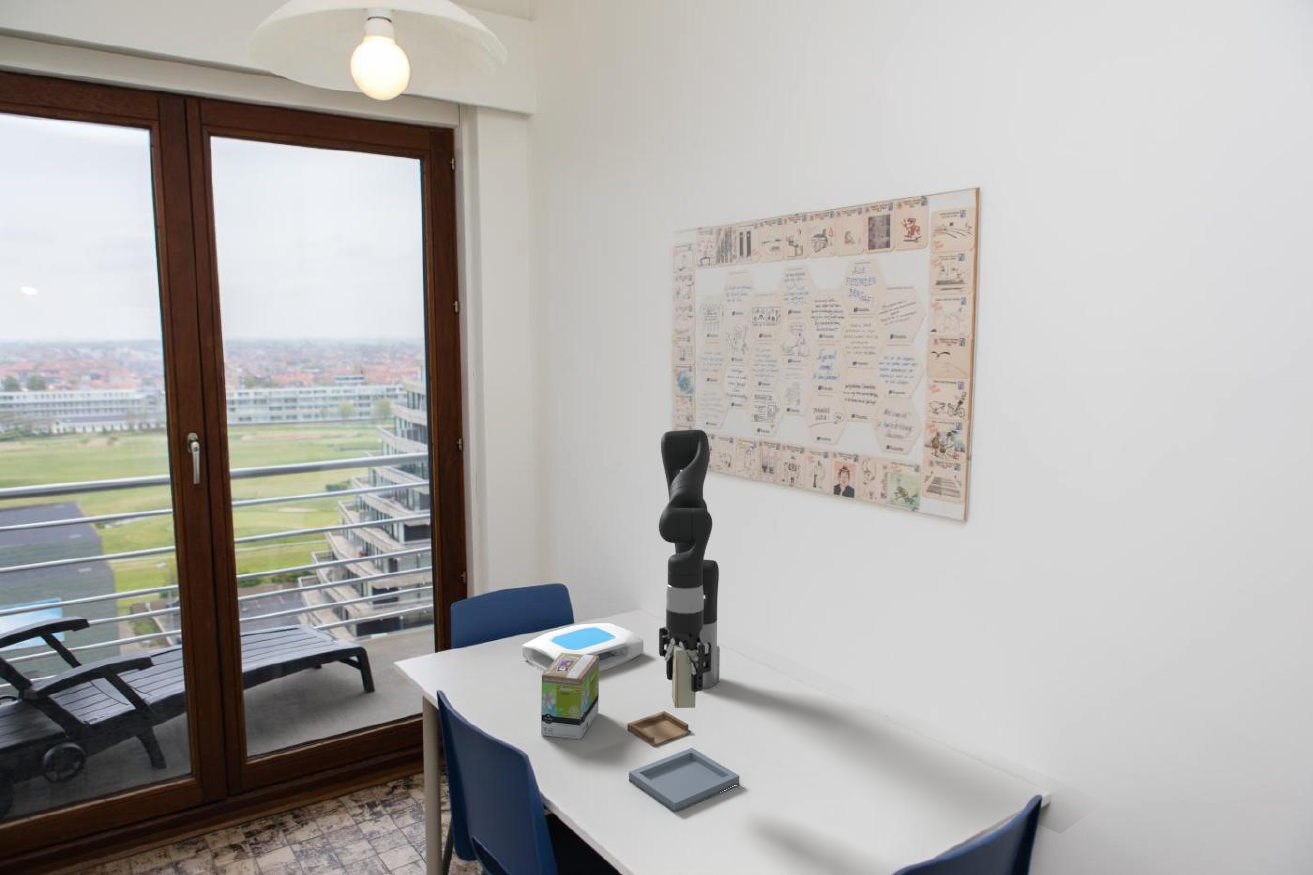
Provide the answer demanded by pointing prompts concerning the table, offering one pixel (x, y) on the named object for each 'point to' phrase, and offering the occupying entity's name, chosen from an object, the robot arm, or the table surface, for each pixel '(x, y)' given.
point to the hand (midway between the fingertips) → (684, 684)
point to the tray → (683, 779)
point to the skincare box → (682, 679)
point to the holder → (658, 728)
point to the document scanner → (584, 644)
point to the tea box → (570, 695)
